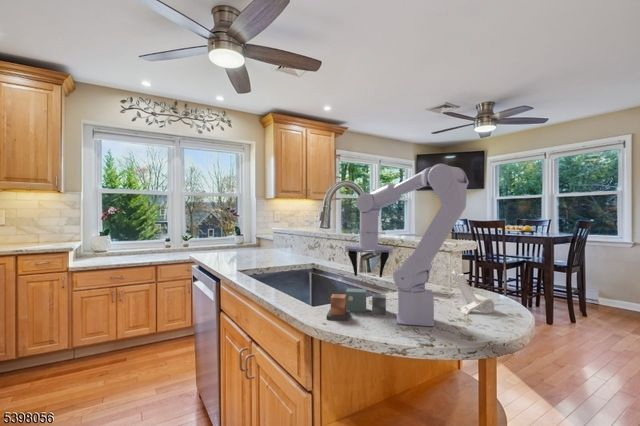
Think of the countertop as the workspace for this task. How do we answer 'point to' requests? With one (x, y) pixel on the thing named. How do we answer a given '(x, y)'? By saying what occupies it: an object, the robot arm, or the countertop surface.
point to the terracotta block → (338, 304)
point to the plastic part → (472, 297)
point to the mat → (337, 317)
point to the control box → (356, 300)
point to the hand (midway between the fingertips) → (368, 275)
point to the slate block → (379, 304)
